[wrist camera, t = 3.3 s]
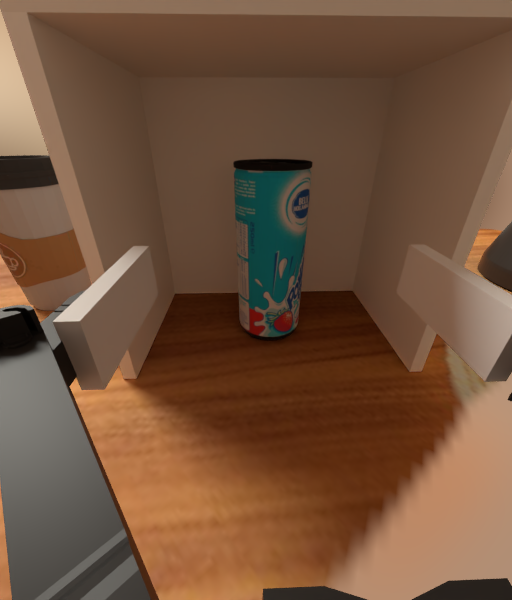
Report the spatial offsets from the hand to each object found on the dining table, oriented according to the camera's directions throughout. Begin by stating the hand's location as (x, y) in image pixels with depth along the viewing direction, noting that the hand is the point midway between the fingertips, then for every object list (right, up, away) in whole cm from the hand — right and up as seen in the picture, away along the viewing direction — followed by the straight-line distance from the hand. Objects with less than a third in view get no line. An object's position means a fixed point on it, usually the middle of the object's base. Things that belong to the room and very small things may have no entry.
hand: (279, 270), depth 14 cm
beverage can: (0, -4, +14) cm, 15 cm away
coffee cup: (-24, -1, +19) cm, 31 cm away
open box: (0, -4, +14) cm, 15 cm away
